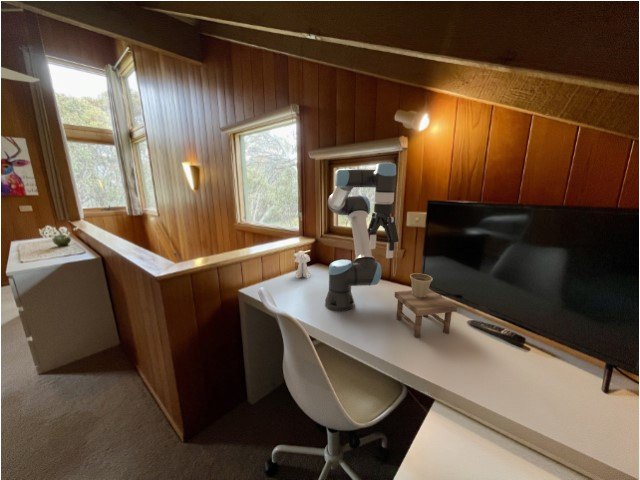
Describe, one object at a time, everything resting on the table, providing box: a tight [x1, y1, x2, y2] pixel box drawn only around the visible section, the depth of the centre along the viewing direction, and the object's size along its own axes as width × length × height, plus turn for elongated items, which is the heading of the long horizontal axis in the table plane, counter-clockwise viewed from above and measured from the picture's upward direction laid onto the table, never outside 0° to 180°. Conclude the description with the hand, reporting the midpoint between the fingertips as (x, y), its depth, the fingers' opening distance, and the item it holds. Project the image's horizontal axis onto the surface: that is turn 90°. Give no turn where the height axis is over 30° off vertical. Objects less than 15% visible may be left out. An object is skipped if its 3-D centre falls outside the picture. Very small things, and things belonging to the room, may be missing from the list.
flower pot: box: [409, 272, 433, 298], centre depth 109 cm, size 9×9×9 cm
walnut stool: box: [394, 288, 458, 339], centre depth 108 cm, size 18×18×13 cm
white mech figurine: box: [292, 249, 311, 279], centre depth 169 cm, size 12×13×18 cm
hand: (380, 253), depth 104 cm, fingers open, 13 cm apart
